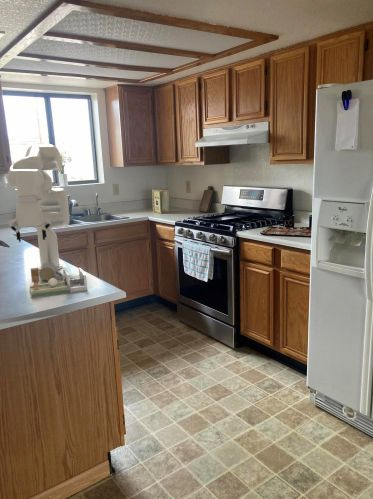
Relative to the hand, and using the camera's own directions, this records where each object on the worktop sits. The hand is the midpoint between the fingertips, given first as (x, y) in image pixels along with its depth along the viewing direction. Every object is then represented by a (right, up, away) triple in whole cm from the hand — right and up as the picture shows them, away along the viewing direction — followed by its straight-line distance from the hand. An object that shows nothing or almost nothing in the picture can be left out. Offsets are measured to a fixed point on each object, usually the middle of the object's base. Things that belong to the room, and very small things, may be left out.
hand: (32, 240), depth 173 cm
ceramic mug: (0, -18, +26) cm, 32 cm away
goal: (+15, -21, +11) cm, 28 cm away
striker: (0, -21, +4) cm, 21 cm away
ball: (+7, -19, +7) cm, 21 cm away
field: (+5, -22, +7) cm, 24 cm away
